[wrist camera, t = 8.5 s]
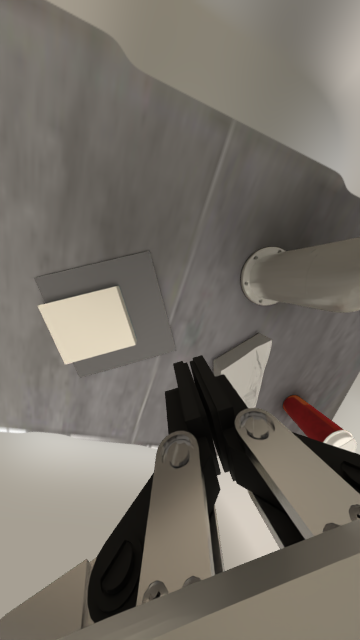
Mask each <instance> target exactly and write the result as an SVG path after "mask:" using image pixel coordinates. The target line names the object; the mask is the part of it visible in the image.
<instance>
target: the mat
mask: <svg viewBox="0 0 360 640" xmlns="http://www.w3.org/2000/svg"><path fill="white" fill-rule="evenodd" d="M34 279H35V281H36V283H37V285H38V288H39V290H40V292H41V294H42V296H43V299H44V301H45V303H46V304H47V303H51V302H55V301H59V300H63V299H67V298H71V297H75V296H79V295H83V294H87V293H91V292H95V291H99V290H103V289H107V288H111V287H115V286H119V287H120V290H121V293H122V296H123V299H124V302H125V305H126V308H127V311H128V314H129V317H130V320H131V323H132V326H133V329H134V332H135V335H136V338H137V342H136V345H134V346H130V347H127V348H123V349H119V350H116V351H112V352H109V353H105V354H101V355H98V356H94V357H91V358H87V359H83V360H80V361H76V362H73V364H74V366H75V369H76V371H77V373H78V375H79V377H80V378H82V377H85V376H89V375H92V374H96V373H99V372H103V371H106V370H110V369H113V368H117V367H120V366H124V365H127V364H131V363H134V362H138V361H141V360H145V359H148V358H152V357H155V356H159V355H162V354H166V353H169V352H173V351H176V347H175V344H174V340H173V336H172V332H171V329H170V325H169V321H168V317H167V314H166V310H165V306H164V303H163V299H162V295H161V291H160V288H159V284H158V280H157V276H156V273H155V269H154V265H153V261H152V258H151V254H150V251H146V252H142V253H138V254H133V255H129V256H125V257H121V258H116V259H112V260H108V261H104V262H99V263H95V264H91V265H87V266H82V267H78V268H74V269H70V270H65V271H61V272H57V273H53V274H48V275H44V276H40V277H36V278H34Z"/></svg>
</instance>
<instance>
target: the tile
mask: <svg viewBox="0 0 360 640" xmlns="http://www.w3.org/2000/svg"><path fill="white" fill-rule="evenodd" d="M38 308H39V310H40V312H41V314H42V316H43V318H44V321H45V323H46V325H47V327H48V329H49V331H50V333H51V335H52V337H53V340H54V342H55V344H56V346H57V348H58V350H59V352H60V354H61V357H62V359H63V361H64V363H65V364H69V363H73V362H76V361H80V360H83V359H87V358H91V357H94V356H98V355H101V354H105V353H109V352H112V351H116V350H119V349H123V348H127V347H130V346H134V345H136V342H137V338H136V335H135V332H134V329H133V326H132V323H131V320H130V317H129V314H128V311H127V308H126V305H125V302H124V299H123V296H122V293H121V290H120V287H119V286H115V287H111V288H107V289H103V290H99V291H95V292H91V293H87V294H83V295H79V296H75V297H71V298H67V299H63V300H59V301H55V302H51V303H47V304H43V305H39V306H38Z"/></svg>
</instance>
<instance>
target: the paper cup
mask: <svg viewBox="0 0 360 640" xmlns="http://www.w3.org/2000/svg"><path fill="white" fill-rule="evenodd" d="M283 408H284V410H285V411H286V412H287V414H288V415H289V416H290V417H291V418H292V419H293V421H294V422H295V423H296V424H297V425H298V426H299V427H300V429H301V430H302V431H303V432H304V433H305V434H306V435H307V437H308V438H311V439H314V440H317V441H320V442H323V443H326V444H329V445H332V446H335V447H339V448H342V449H345V450H348V451H351V452H355V450H356V447H357V443H356V441H355V439H354V438H353V436H352V434H351V433H350V432H348V431H346V430H343V429H342V428H341V427H339V426H338V425H337V424H335V423H334V422H333V421H331V420H330V419H329V418H327V417H326V416H325V415H323V414H322V413H321V412H319V411H318V410H316V409H315V408H314V407H312V406H311V405H310V404H308V403H307V402H306V401H304V400H303V399H301V398H300V397H298V396H296V395H292V396H289V397H288V398H287V399H286V400H285V401H284V403H283Z"/></svg>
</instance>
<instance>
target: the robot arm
mask: <svg viewBox="0 0 360 640" xmlns="http://www.w3.org/2000/svg"><path fill="white" fill-rule="evenodd" d="M241 286H242V290H243V292H244V294H245V296H246V297H247V298H248V299H249V300H250V301H252V302H253V303H255V304H259V305H264V306H266V305H272V304H275V303H277V302H283V303H288V304H293V305H298V306H303V307H309V308H314V309H319V310H324V311H329V312H336V313H348V312H354V311H358V310H360V237H358V238H353V239H348V240H343V241H338V242H333V243H327V244H322V245H317V246H312V247H307V248H301V249H296V250H291V251H285V250H283V249H281V248H278V247H267V248H263V249H260V250H258V251H256V252H255V253H254V254H252V255H251V256H250V258H249V259H248V260H247V262H246V263H245V265H244V267H243V270H242V274H241ZM173 365H174V370H175V375H176V379H177V384H178V388H175V389H172V390H169V391H165V398H166V410H167V421H168V432H169V435H168V436H166V437H165V438H164V439H163V440H162V442H161V443H160V445H159V447H158V450H157V454H156V461H155V469H154V473H153V475H152V476H151V478H150V479H149V480H148V482H147V483H146V485H145V486H144V488H143V489H142V490H141V492H140V493H139V495H138V496H137V498H136V499H135V501H134V502H133V503H132V505H131V507H130V508H129V509H128V511H127V512H126V514H125V515H124V517H123V518H122V519H121V521H120V522H119V524H118V525H117V527H116V528H115V529H114V531H113V533H112V534H111V535H110V537H109V538H108V540H107V541H106V542H105V544H104V546H103V547H102V549H101V551H100V553H99V554H98V556H97V557H96V558H95V559H93V560H92V561H91V562H89V561H88V560H87V559H86V560H84V561H83V562H82V563H80V564H78V565H77V566H76V567H74V568H73V569H71V570H70V571H68V572H67V573H66V574H64V575H62V576H61V577H60V578H58V579H57V580H55V581H54V582H52V583H51V584H49V585H48V586H47V587H45V588H44V589H42V590H41V591H39V592H38V593H36V594H35V595H34V596H32V597H30V598H29V599H28V600H26V601H25V602H23V603H22V604H20V605H19V606H17V607H16V608H14V609H13V610H11V611H10V612H9V613H7V614H6V615H5V616H4V617H2V618H1V619H0V640H360V455H359V454H356V453H354V452H351V451H348V450H345V449H342V448H339V447H335V446H332V445H329V444H326V443H323V442H320V441H317V440H314V439H311V438H308V437H305V436H302V435H299V434H296V433H293V432H291V431H290V430H289V429H288V428H286V427H285V426H284V425H283V424H282V423H281V422H280V421H279V420H278V419H277V418H275V417H274V416H273V415H272V414H270V413H269V412H267V411H265V410H263V409H259V408H248V407H247V405H246V404H245V403H244V401H243V400H242V398H241V397H240V396H239V394H238V393H237V391H236V390H235V389H234V387H233V386H232V384H231V383H230V382H229V380H228V379H227V377H226V376H225V375H224V374H222V375H219V376H214V374H213V372H212V371H211V369H210V367H209V366H208V364H207V363H206V361H205V359H204V358H203V356H202V355H201V356H198V357H195V358H193V361H190V365H191V369H192V373H193V377H194V380H193V377H192V375H191V372H190V369H189V367H188V364H187V363H183V361H181V362H177V363H174V364H173ZM194 381H195V383H194ZM213 441H214V443H213ZM214 444H215V447H216V450H217V453H218V455H219V458H220V461H221V464H222V466H223V469H224V472H228V471H230V474H231V477H232V479H233V481H235V480H236V482H237V484H239V485H241V486H242V487H244V488H246V489H247V490H248V493H249V495H250V497H251V499H252V501H253V502H254V504H255V506H256V507H257V509H258V511H259V513H260V515H261V516H262V518H263V520H264V522H265V523H266V525H267V527H268V528H269V530H270V532H271V534H272V536H273V537H274V539H275V541H276V543H277V544H278V546H279V548H280V550H278V551H275V552H272V553H270V554H268V555H265V556H262V557H260V558H257V559H255V560H252V561H250V562H247V563H244V564H242V565H239V566H237V567H234V568H232V569H229V570H227V571H225V570H224V563H223V556H222V550H221V543H220V535H219V529H218V522H217V516H216V509H215V505H214V504H215V502H216V499H217V497H218V494H219V491H220V486H219V482H218V478H217V475H220V473H221V472H220V468H219V464H218V460H217V456H216V452H215V448H214Z"/></svg>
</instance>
